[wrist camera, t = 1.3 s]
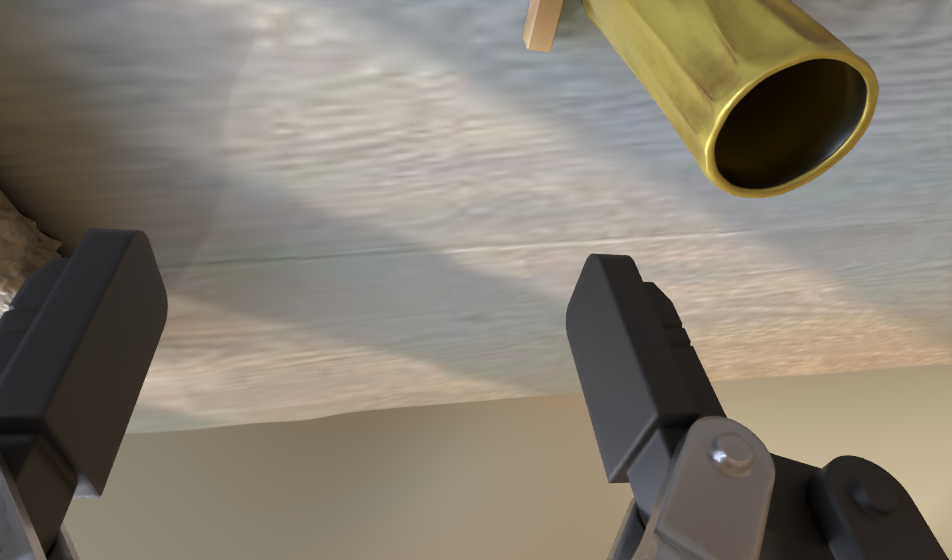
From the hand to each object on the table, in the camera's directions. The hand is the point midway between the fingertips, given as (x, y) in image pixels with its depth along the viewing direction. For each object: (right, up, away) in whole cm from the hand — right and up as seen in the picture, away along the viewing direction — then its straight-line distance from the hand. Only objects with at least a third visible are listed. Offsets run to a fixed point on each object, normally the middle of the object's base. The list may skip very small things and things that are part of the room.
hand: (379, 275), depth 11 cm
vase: (+10, +15, +16) cm, 24 cm away
